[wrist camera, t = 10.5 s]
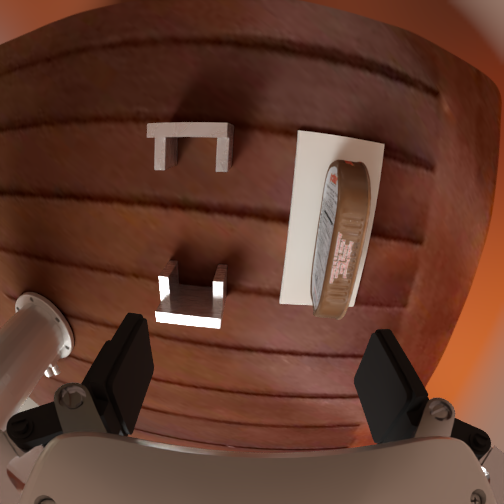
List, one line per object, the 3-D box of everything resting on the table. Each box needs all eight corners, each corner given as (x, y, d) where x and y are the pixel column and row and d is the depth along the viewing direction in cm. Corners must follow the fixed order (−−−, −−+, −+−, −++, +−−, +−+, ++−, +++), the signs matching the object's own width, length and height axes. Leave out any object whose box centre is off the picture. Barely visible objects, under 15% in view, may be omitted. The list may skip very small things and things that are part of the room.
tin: (328, 291, 32) (346, 338, 25) (301, 290, 32) (313, 337, 25) (351, 158, 27) (385, 168, 19) (321, 153, 27) (345, 161, 19)
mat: (352, 304, 34) (353, 306, 33) (279, 300, 34) (279, 303, 33) (382, 143, 26) (384, 144, 26) (298, 130, 26) (298, 130, 26)
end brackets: (234, 125, 26) (227, 122, 21) (226, 297, 34) (220, 328, 28) (168, 125, 26) (147, 123, 21) (171, 292, 34) (156, 321, 28)
